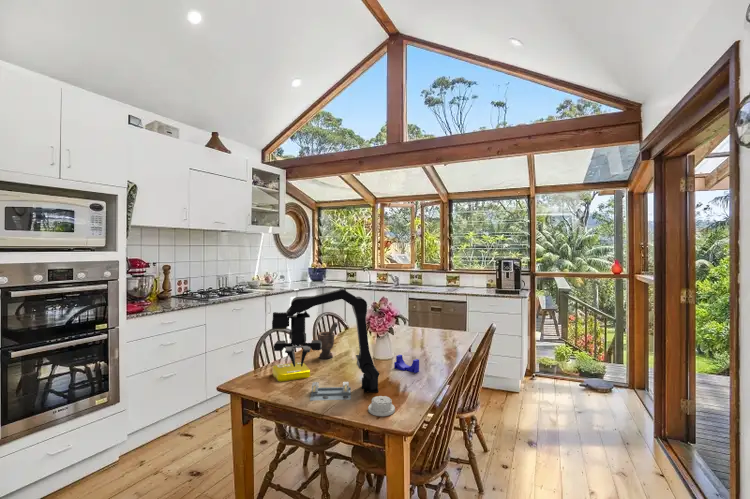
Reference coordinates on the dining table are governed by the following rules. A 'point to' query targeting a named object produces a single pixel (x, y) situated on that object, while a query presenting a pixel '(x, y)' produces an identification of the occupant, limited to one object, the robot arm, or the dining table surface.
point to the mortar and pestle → (327, 342)
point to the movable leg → (315, 387)
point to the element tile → (290, 371)
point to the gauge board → (333, 393)
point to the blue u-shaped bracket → (402, 366)
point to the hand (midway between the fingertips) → (298, 366)
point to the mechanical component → (381, 406)
